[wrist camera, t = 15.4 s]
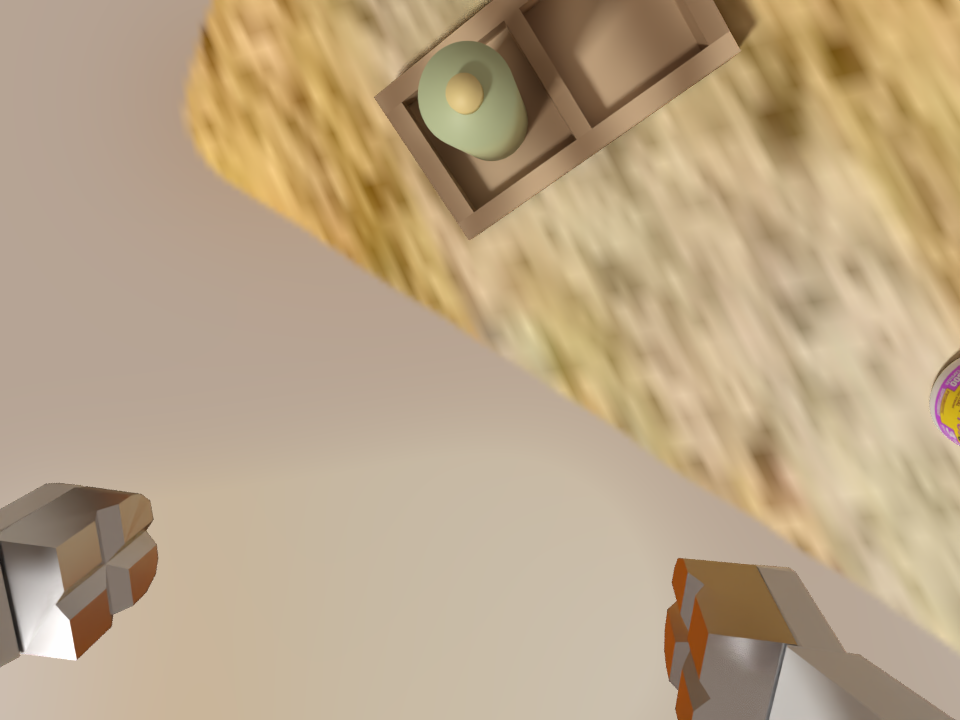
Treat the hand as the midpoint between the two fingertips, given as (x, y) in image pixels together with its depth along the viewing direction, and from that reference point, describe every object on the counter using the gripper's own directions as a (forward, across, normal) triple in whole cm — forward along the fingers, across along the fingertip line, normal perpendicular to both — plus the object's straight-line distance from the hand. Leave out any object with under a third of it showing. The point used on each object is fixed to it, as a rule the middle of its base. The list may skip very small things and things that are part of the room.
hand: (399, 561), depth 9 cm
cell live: (+30, +3, -9) cm, 32 cm away
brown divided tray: (+31, -1, -12) cm, 33 cm away
